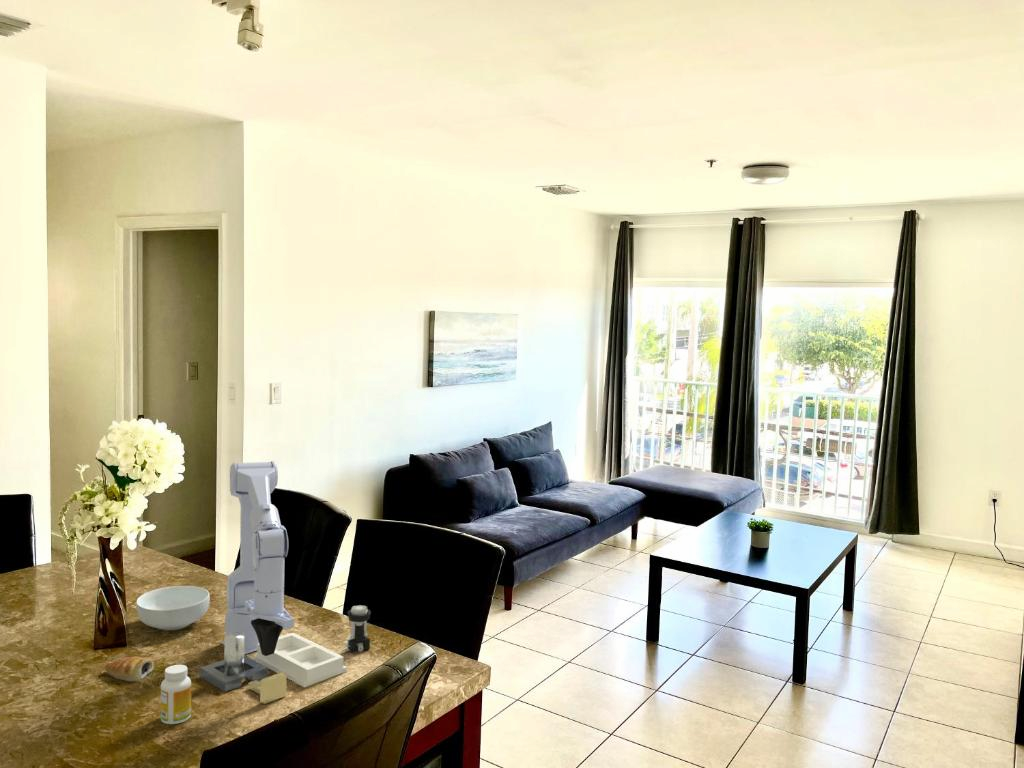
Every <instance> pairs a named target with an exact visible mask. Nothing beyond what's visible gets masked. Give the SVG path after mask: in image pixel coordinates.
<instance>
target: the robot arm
mask: <svg viewBox="0 0 1024 768" xmlns="http://www.w3.org/2000/svg"><path fill="white" fill-rule="evenodd" d="M278 474H279V471H278V464H277V463H276V462H275V461H263V462H262V461H261V462H258V461H257V462H233V463H232V464H231V465H230V467H229V492H230V496H233V497H236V498H238V501H239V504H240V521H239V522H240V527H239V528H240V530H239V533H240V539H239V541H240V543H239V544H240V545H239V546H240V547H239V548H240V554H239V555H240V558H239V564H240V565H239V566H238V567H237V568H236V569H234V570H233V571H232V572H230V573H229V575H228V577H227V584H226V592H225V593H226V605H227V607H228V609H227V611H226V613H225V617H224V618H225V620H224V622H225V623H224V625H225V626H224V627H225V628H224V636H225V635H227V634H229V633H233V632H240V633H243V634H244V635H245V637H244V655H247V654H250V653H254V652H257V644H259V645H260V649H261V653H262V655H264V656H268V655H271V654H274V652H275V648H276V645H277V641H278V638H279V637H281V633H282V631H283V630H284V631H287V630H291V629H294V628H295V618H294V617H293V616H291V615H290V613H289V612H288V611H287V610H286V608H285V607H284V603H285V601H284V600H285V599H284V598H285V558H287V556H288V553H289V536H288V532H287V529H286V527H285V526H284V525H282V524H281V523H282V522H281V519H280V514H279V510H278V508H277V507H276V506H275V504H272V501H271V499H272V498H271V494H272V493H273V492H274V490H275V489H276V487H277V485H278V481H279V479H278V478H279V475H278ZM221 644H223V645H225V639H224V640H221Z"/></svg>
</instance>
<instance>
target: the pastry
mask: <svg viewBox="0 0 1024 768" xmlns="http://www.w3.org/2000/svg"><path fill="white" fill-rule="evenodd" d="M154 665H155V664H154V662H153V660H152V659H151V658H150V657H147V658H145V657H142V656H137V655H136V656H131V657H128V656H127V657H124V658H121V659H116V660H113V661H110V662H109V663H107V664H106V665H104V666H105V667H104V668H105V672H106V674H107V675H108V676H110V677H111V676H112V677H113V678H115V679H116V680H122V681H126V682H139V681H142V680H143V679H145V678H146V677H147V675H149V674H150V673H152V671H154V668H155V667H154Z"/></svg>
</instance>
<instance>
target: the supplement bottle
mask: <svg viewBox="0 0 1024 768" xmlns="http://www.w3.org/2000/svg"><path fill="white" fill-rule="evenodd" d="M191 715H192V680H191V677H189V676H188V667H187V665H184V664H174V665H170V666H168V667H166V668H165V670H164V679H163V680H162V681H161V683H160V721H161V722H162V723H164V724H166V725H177V724H182V723H184V722H187V721H188V720H189V719H190V718H191Z"/></svg>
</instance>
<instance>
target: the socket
mask: <svg viewBox="0 0 1024 768" xmlns="http://www.w3.org/2000/svg"><path fill="white" fill-rule="evenodd" d="M199 677H200V678H201V679H203V680H204V681H206V682H208V683H210V684H211V685H212V686H214V687H216V688H218V689H220V690H221V691H223V692H224V693H226V691H227V692H229V690H230V691H232V689H233V690H235V689H238V688H240V686H241V687H242V679H245V678H246V679H247V680H248V679H249V680H250V681H249V680H248V681H249V682H251V681H255V680H258V681H261V680H262V678H263V679H264V678H267V677H269V668H267V667H266V666H264V665H262V664H260V663H258V662H256V661H255V660H254V658H251V657H249V656H247V655H246V654H244V672H241V673H238V674H235V675H232V676H227V675H225V674H224V659H223V660H219V661H216V662H213V663H210V664H206V665H203V666H201V667H199ZM260 679H261V680H260ZM237 687H238V688H237ZM234 688H235V689H234Z"/></svg>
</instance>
